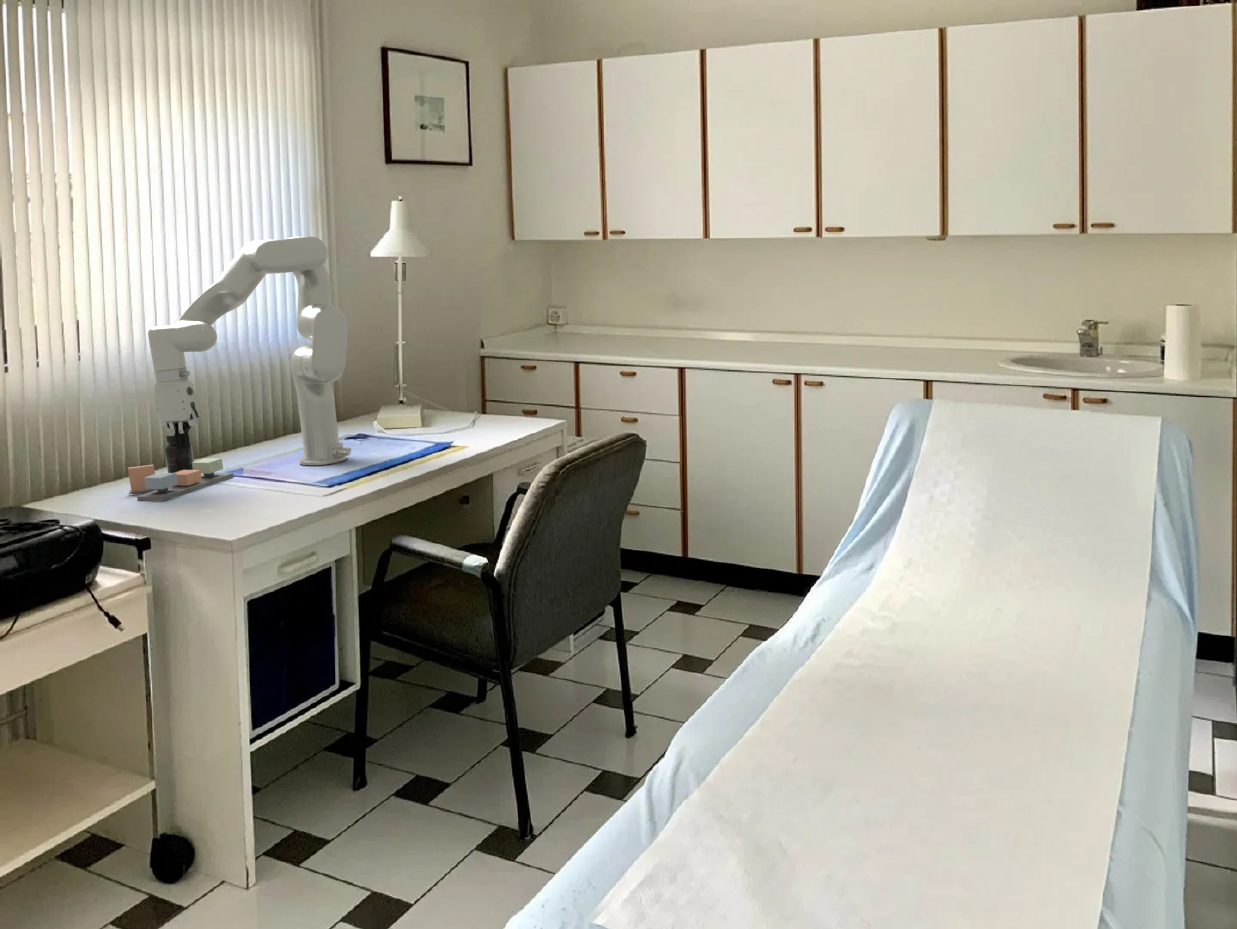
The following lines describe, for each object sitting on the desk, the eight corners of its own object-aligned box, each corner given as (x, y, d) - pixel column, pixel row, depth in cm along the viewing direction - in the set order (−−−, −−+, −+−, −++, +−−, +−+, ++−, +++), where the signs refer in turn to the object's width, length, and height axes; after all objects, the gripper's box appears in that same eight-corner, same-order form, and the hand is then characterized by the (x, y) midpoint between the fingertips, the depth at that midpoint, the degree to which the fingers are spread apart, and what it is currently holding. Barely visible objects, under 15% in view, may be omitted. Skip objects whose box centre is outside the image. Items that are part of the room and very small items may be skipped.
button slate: (178, 488, 288) (176, 473, 288) (163, 493, 284) (161, 477, 283) (161, 487, 290) (159, 472, 289) (146, 492, 286) (144, 477, 285)
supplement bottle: (185, 474, 312) (179, 430, 310) (201, 476, 309) (195, 432, 306) (163, 480, 307) (156, 435, 304) (179, 482, 303) (172, 436, 301)
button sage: (223, 472, 304) (221, 458, 303) (210, 477, 299) (208, 462, 298) (207, 472, 306) (205, 458, 305) (193, 477, 301) (191, 462, 300)
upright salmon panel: (129, 492, 294) (125, 467, 293) (159, 488, 297) (155, 463, 295) (129, 495, 291) (125, 469, 289) (159, 491, 293) (155, 465, 292)
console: (233, 476, 306) (233, 473, 305) (163, 501, 282) (163, 497, 282) (208, 476, 308) (208, 472, 308) (137, 500, 285) (136, 496, 284)
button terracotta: (202, 484, 296) (200, 470, 296) (188, 489, 292) (186, 474, 291) (185, 484, 298) (183, 469, 297) (171, 489, 294) (169, 474, 293)
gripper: (206, 372, 290) (217, 445, 294) (158, 374, 295) (170, 445, 299) (185, 377, 283) (197, 451, 287) (136, 379, 288) (149, 451, 293)
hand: (183, 448), depth 293 cm, fingers closed
